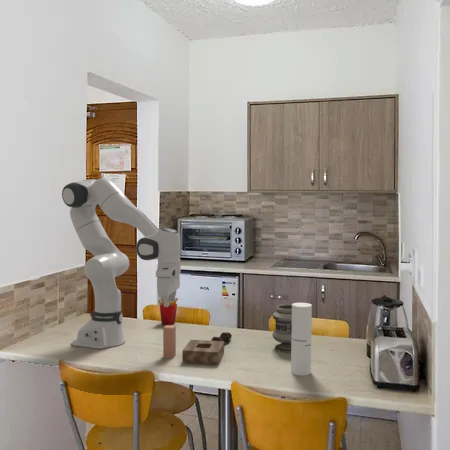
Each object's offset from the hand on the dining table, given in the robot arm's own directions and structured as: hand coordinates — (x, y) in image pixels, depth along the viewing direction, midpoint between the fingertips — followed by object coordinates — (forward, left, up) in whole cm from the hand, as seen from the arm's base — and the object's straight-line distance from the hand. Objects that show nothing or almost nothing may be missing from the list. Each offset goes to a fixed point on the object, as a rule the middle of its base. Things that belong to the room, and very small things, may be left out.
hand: (169, 303), depth 196 cm
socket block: (+14, 0, -21) cm, 25 cm away
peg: (0, 0, -21) cm, 21 cm away
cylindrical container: (+52, -9, -21) cm, 57 cm away
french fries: (-13, +46, -21) cm, 52 cm away
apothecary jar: (+46, +18, -21) cm, 54 cm away
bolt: (+18, +19, -22) cm, 34 cm away
